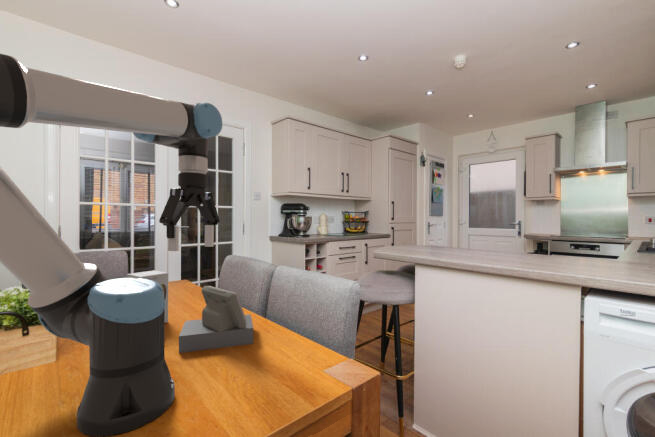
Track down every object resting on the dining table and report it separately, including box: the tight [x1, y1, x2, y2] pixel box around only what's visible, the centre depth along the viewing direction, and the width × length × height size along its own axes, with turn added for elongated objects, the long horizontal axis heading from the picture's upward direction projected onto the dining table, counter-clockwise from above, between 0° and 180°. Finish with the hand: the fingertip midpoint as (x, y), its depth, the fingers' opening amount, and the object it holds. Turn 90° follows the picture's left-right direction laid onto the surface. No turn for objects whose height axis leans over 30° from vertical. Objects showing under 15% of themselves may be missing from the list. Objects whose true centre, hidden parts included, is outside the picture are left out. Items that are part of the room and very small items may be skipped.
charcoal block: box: [178, 314, 254, 354], centre depth 87 cm, size 12×19×5 cm, turn 108°
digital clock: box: [201, 285, 247, 332], centre depth 86 cm, size 16×9×11 cm, turn 41°
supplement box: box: [126, 269, 169, 324], centre depth 100 cm, size 10×9×17 cm
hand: (192, 248), depth 84 cm, fingers open, 13 cm apart
